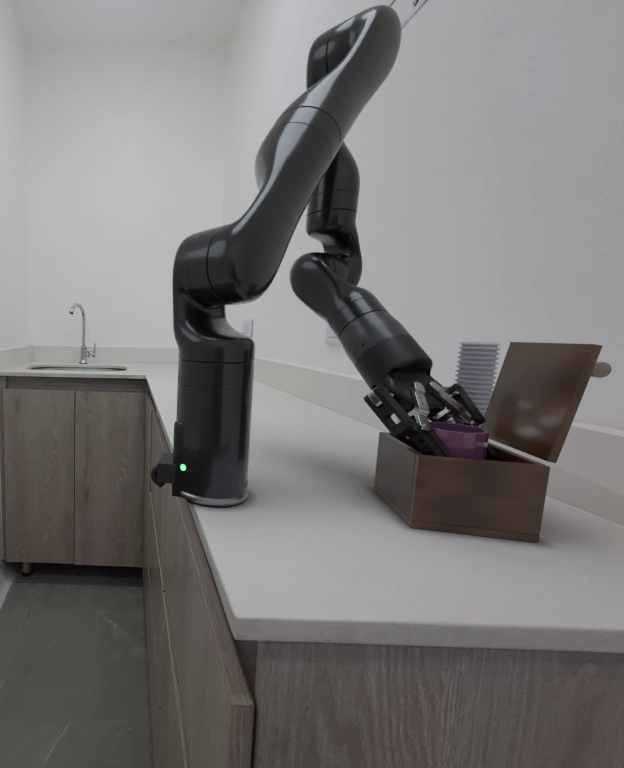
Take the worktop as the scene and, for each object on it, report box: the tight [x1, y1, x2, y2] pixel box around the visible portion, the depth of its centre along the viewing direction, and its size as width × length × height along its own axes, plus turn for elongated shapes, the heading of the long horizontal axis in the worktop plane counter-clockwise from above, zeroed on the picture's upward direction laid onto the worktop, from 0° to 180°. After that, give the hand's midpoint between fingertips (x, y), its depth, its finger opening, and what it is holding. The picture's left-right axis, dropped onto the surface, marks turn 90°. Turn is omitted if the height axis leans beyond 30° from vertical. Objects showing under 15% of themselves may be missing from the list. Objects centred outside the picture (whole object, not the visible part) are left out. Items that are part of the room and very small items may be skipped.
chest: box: [373, 431, 551, 543], centre depth 47 cm, size 11×11×8 cm
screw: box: [449, 341, 502, 428], centre depth 55 cm, size 8×8×20 cm
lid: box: [480, 341, 612, 464], centre depth 43 cm, size 12×11×4 cm
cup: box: [419, 421, 490, 460], centre depth 47 cm, size 6×6×9 cm
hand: (466, 463), depth 45 cm, fingers closed on cup, 6 cm apart
